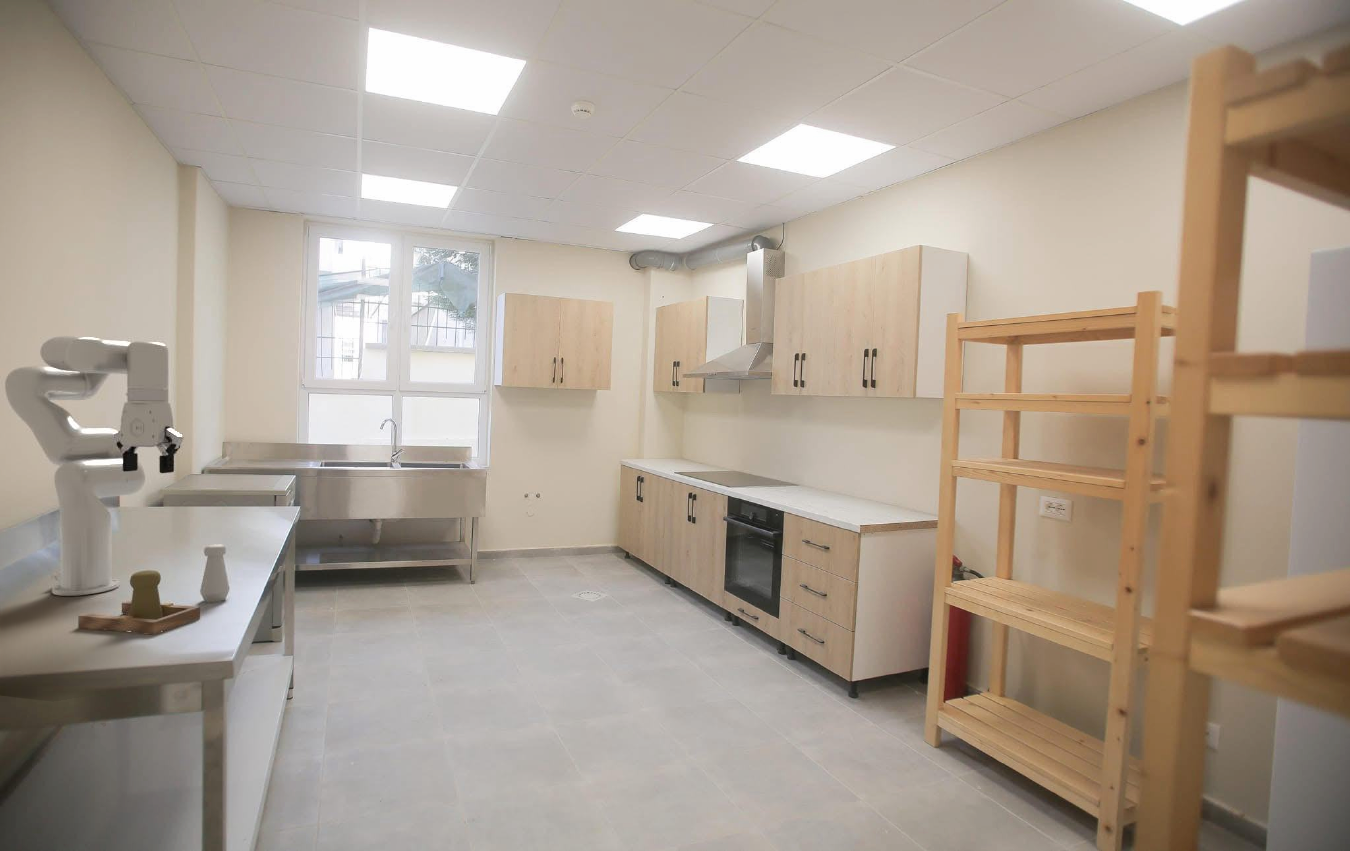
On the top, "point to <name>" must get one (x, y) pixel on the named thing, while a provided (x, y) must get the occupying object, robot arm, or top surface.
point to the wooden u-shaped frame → (170, 613)
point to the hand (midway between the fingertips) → (148, 471)
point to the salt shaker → (215, 575)
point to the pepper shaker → (145, 595)
